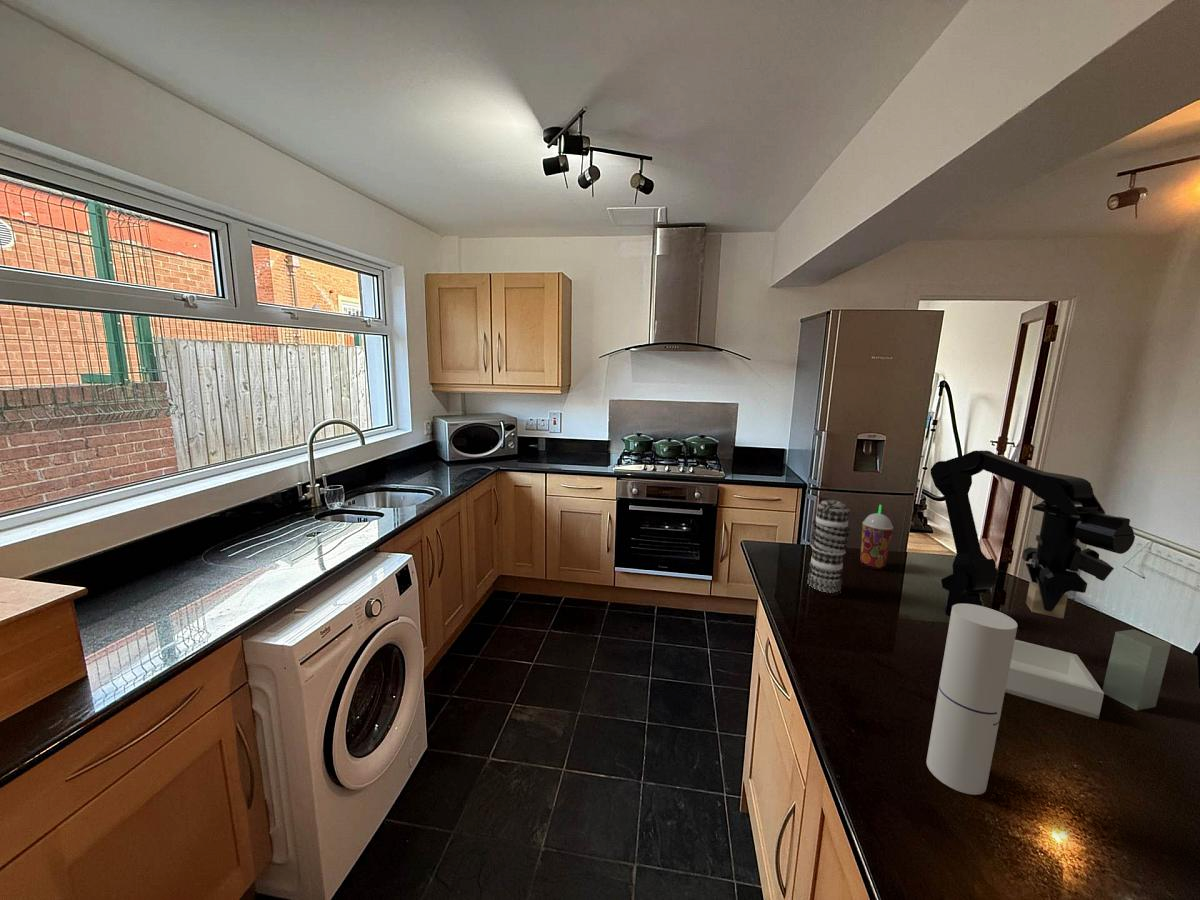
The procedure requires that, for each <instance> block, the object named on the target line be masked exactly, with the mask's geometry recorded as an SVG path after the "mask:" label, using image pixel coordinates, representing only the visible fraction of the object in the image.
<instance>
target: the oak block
mask: <svg viewBox="0 0 1200 900" xmlns="http://www.w3.org/2000/svg"><path fill="white" fill-rule="evenodd" d="M1068 597H1069V596H1068V595H1067V592H1066V593H1065V594H1064V595H1063V596H1062V598H1061V599H1060V600H1059V602H1058V603H1057V605H1056V606H1055V608H1054V609H1053V611H1051V612H1050V611H1046V610H1045V609H1044V606H1043V602H1042V598H1041V595H1040V591H1039V587H1038V584H1037V583H1035V582H1032V581H1029V585H1028V590H1027V594H1026V601H1025V603H1026V606H1027V607H1028V608H1029V610H1030V612H1031V613H1036V614H1040V615H1045V616H1050V617H1055V618H1059V619H1063V620H1064V616H1065V612H1066V606H1067V603H1068Z"/></svg>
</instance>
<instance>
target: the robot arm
mask: <svg viewBox="0 0 1200 900" xmlns="http://www.w3.org/2000/svg"><path fill="white" fill-rule="evenodd" d="M982 471H985V472H988V473H991V474H994V475H996V476H998V477H1001V478H1004V479H1006V480H1008V481H1011V482H1014V483H1016V484H1018V485H1021V486H1023V487H1026V489H1028V490H1030V491H1031V492H1032V493H1033V494H1034V495H1035V496H1036V497H1038V498H1040V499H1041V500H1042V501H1041V502H1040V503H1037V504H1035V505H1033V506H1031V509H1032V510H1033V511H1034V510H1035V511H1038V512H1042V513H1043V514H1042V520H1041V525H1040V530H1039V535H1038V534H1036V535H1035V541H1037V546H1036V547H1031V546H1028V547H1027V548H1025V549H1023V553H1022V557H1021V559H1023V561H1024V562H1026V563H1025V566H1026V568H1027V571H1028V574H1029V577H1030V580H1031V581H1030V582H1035V583H1037V584H1038V587H1039V591H1040V595H1041V598H1042V602H1043V606H1044V609H1045V610H1046V611H1050V612H1051V611H1053V609H1054V608H1055V606H1056V605H1057V603H1058V602H1059V600H1060V599H1061V598H1062V596H1063V595H1064V594H1065V593H1066V594H1067V593H1068V592H1070V591H1072V592H1076V593H1086V591H1087V588H1088V583H1087V582H1086V580H1084V579H1083V577H1081V575H1079V574H1078V572H1079V570H1080V571H1082V572H1085V573H1086V574H1088V575H1091V576H1094V577H1095V578H1096V579H1097V580H1100V581H1103V582H1104V581H1105V580H1106V579H1107V578H1108V577H1109V575H1110V574H1111V573H1112V572H1113V570H1114V569H1115V568H1114V567H1113V566H1112V565H1111V564H1109V563H1108V562H1106V561H1105V560H1103V559H1102V558H1101V559H1100V553H1098V552H1097V551H1096V550H1093V549H1091V548H1089V547H1087V548H1085V549H1083V550H1082V548H1081V547H1080V545H1078V541H1079V542H1080V544H1084V545H1086V546H1090V547H1094V548H1097V549H1102V550H1105V551H1108V552H1112V553H1114V554H1115V553H1116V554H1119V555H1123V554H1125V553H1127V552H1128V551H1129V550H1130V549H1131V548H1132V546H1133V544H1134V542H1135V540H1136V539H1135V538H1136V536H1135V532H1134V529H1133V527H1132V526H1131V525H1130V523H1131V519H1130V518H1127V517H1123V516H1114V515H1110V514H1106V511H1105V510H1104V508H1103V506H1102V505H1101V504H1100V502H1099V500H1098V498H1097V497H1096V495H1095V494H1094V488H1093V486H1092V483H1091V482H1090V481H1089V480H1087V479H1085V478H1082V477H1079V476H1078V477H1077V476H1073V475H1067V474H1061V473H1055V472H1049V471H1044V470H1040V469H1038V468H1035V467H1031V466H1029V465H1026V464H1024V463H1021V462H1018V461H1015V460H1012V459H1010V458H1007V457H1004V456H1001V455H999V454H996V453H994V452H992V451H990V450H972V451H970V452H967V453H966V454H964V455H959V456H956V457H953V458H950V459H947V460H939V461H937V462H935V463H934V464H933V466H932V467H931V468H930V477H931V479H932V482H933V484H934V486H935V487H936V489H937V490H938V491H939V492H940V494H942V496H943V497H944V501H945V506H946V511H947V515H948V519H949V525H950V529H951V534H952V538H953V541H954V542H953V543H954V546H955V550H956V551H955V552H956V554H955V557H954V560H953V563H952V574H950V575H948V576H945V577H944V578H941V579H940V581H941V586H942V588H943V589H945V590H946V596H945V602H944V603H943V609H944V614H945V615H947V616H950V617H951V611H952V606H953V605H955V604H973V605H979V606H983V601H982V599H981V594H987V593H988V591H989V590H990V589H993V588H994V586H995V585H996V584H997V582H998V577H999V576H1000V574H999V573H998V571H997V566H996V561H995V559H994V558H987V556H986V555H985V554H984V553H983V552H982V548H981V544H980V540H979V536H978V531H977V527H976V523H975V519H974V515H973V510H972V506H971V502H970V497H969V492H970V490H971V488H972V487H971V486H972V484H973V476H975V475H977V474H979V473H981V472H982ZM1030 560H1031V562H1030V563H1027V562H1029V561H1030Z"/></svg>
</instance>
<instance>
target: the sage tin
mask: <svg viewBox="0 0 1200 900" xmlns="http://www.w3.org/2000/svg"><path fill="white" fill-rule="evenodd" d="M1171 647H1172V644H1171V643H1170V642H1168V641H1164V640H1162V639H1160V638H1158V637H1154V636H1151V635H1149V634H1147V633H1144V632H1142V631H1140V630H1136V629H1135V628H1134V629H1127V630H1119V631H1115V632H1114V637H1113V642H1112V646H1111V652H1110V655H1109V658H1108V664H1107V669H1106V672H1105V677H1104V682H1103V686H1102V689H1101V690H1102V691H1103V692H1104V695H1105V696H1107V697H1109V698H1112V699H1113V700H1115V701H1117V702H1120V703H1122V704H1124V705H1125V706H1126V707H1130V708H1131V709H1132V710H1135V711H1142V710H1146V709H1153V708H1156V706H1157V702H1158V699H1159V695H1160V691H1161V686H1162V683H1163V678H1164V675H1165V670H1166V666H1167V663H1168V658H1169V655H1170V651H1171V650H1170V649H1171Z"/></svg>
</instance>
